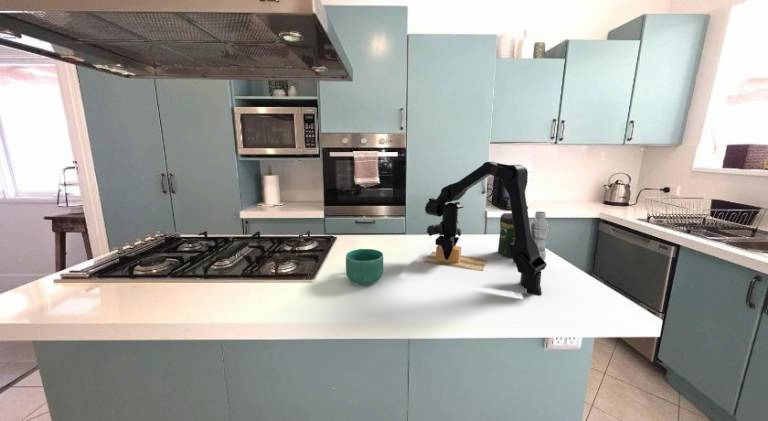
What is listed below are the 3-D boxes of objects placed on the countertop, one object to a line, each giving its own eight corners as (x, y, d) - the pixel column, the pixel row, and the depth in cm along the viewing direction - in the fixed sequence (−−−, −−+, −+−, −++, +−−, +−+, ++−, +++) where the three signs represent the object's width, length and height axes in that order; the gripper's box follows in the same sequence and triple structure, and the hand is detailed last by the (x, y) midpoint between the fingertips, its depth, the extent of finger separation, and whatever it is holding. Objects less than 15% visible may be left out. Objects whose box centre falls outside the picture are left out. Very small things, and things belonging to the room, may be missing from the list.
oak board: (482, 275, 108) (482, 271, 108) (423, 266, 117) (423, 262, 117) (486, 262, 121) (486, 258, 121) (432, 255, 130) (432, 251, 129)
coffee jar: (524, 261, 122) (528, 216, 119) (506, 262, 121) (509, 216, 118) (511, 253, 132) (515, 211, 129) (494, 254, 131) (497, 212, 128)
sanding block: (458, 262, 116) (459, 250, 115) (435, 259, 120) (435, 247, 119) (460, 258, 120) (461, 246, 119) (438, 255, 124) (439, 243, 123)
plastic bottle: (523, 259, 124) (527, 211, 121) (534, 257, 127) (539, 210, 123) (537, 264, 118) (541, 214, 115) (548, 262, 121) (554, 213, 118)
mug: (385, 288, 98) (385, 259, 96) (346, 290, 96) (345, 261, 95) (379, 269, 114) (379, 244, 112) (345, 270, 112) (345, 246, 111)
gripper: (435, 212, 129) (434, 248, 132) (422, 221, 112) (421, 261, 115) (462, 214, 124) (460, 251, 127) (452, 224, 107) (450, 266, 110)
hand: (448, 257), depth 120 cm, fingers closed on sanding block, 5 cm apart
